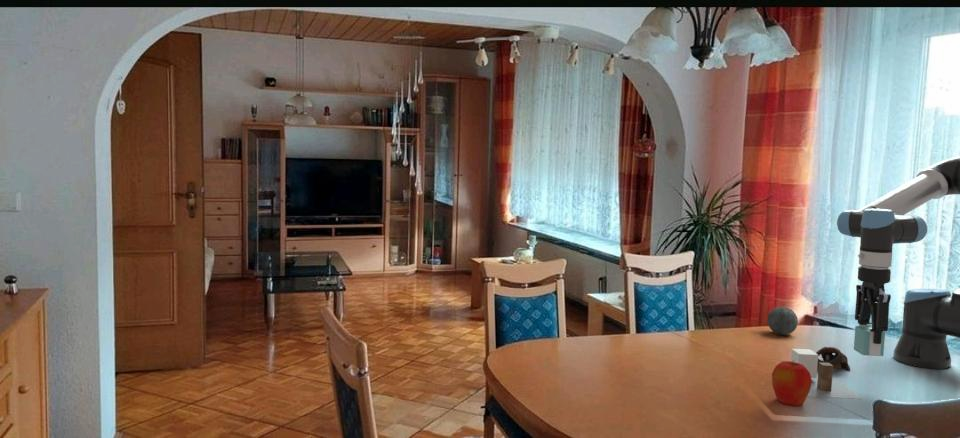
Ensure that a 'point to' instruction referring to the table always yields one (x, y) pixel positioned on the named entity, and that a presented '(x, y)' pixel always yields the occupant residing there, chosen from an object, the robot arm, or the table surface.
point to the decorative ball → (782, 320)
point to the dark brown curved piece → (833, 357)
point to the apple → (791, 383)
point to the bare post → (825, 376)
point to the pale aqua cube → (865, 340)
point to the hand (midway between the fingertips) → (868, 351)
